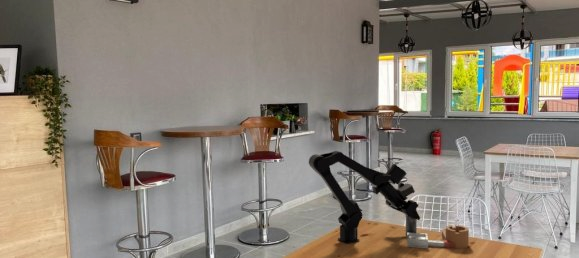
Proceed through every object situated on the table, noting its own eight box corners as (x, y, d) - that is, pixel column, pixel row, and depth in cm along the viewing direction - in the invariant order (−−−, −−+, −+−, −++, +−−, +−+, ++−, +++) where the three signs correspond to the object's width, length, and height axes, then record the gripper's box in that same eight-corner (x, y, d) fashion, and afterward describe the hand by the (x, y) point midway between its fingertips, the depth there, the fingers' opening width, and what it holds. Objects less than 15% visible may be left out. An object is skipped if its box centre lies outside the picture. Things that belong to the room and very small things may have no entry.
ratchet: (407, 240, 182) (407, 232, 182) (453, 243, 178) (453, 235, 177) (407, 247, 175) (407, 238, 174) (455, 250, 170) (455, 241, 170)
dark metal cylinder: (411, 236, 188) (411, 210, 187) (403, 233, 192) (403, 207, 191) (418, 234, 190) (419, 208, 189) (411, 231, 194) (411, 206, 193)
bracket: (470, 249, 172) (470, 231, 171) (447, 248, 173) (447, 231, 173) (460, 235, 189) (461, 218, 189) (440, 234, 191) (440, 218, 190)
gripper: (413, 182, 179) (438, 207, 183) (391, 174, 197) (414, 197, 201) (395, 203, 178) (421, 228, 181) (375, 193, 196) (398, 216, 199)
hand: (414, 216), depth 191 cm, fingers open, 8 cm apart
